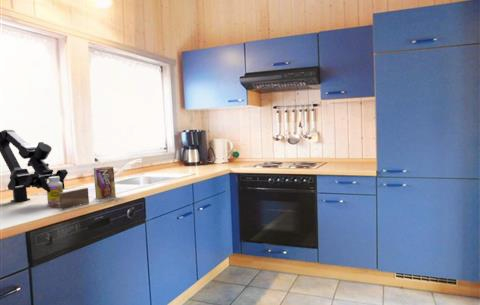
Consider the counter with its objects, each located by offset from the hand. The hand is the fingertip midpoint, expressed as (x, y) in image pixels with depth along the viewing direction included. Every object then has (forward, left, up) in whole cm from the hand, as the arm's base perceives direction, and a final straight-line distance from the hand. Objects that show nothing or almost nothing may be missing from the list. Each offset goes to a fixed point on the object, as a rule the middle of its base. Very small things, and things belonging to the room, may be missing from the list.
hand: (56, 190), depth 172 cm
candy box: (+10, +20, -7) cm, 23 cm away
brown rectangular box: (+8, 0, -7) cm, 10 cm away
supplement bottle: (-1, 0, -7) cm, 7 cm away
